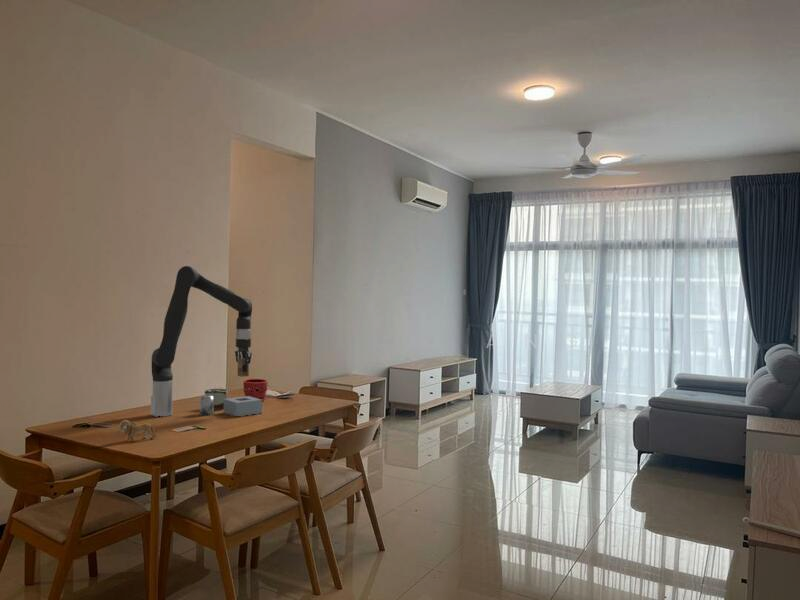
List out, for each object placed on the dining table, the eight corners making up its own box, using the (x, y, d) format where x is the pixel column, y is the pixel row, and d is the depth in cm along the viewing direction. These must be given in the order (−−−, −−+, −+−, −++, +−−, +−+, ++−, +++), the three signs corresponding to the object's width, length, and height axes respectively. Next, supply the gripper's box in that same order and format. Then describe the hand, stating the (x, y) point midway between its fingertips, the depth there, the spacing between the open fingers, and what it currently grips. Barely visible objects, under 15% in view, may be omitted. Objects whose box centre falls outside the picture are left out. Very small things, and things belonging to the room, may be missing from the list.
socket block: (236, 417, 295) (236, 402, 295) (223, 412, 305) (223, 398, 305) (261, 413, 304) (262, 399, 304) (248, 409, 314) (248, 396, 314)
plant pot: (240, 403, 331) (241, 381, 331) (246, 399, 344) (246, 378, 344) (264, 403, 332) (265, 382, 331) (269, 399, 345) (269, 378, 345)
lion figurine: (121, 444, 240) (121, 421, 240) (117, 441, 244) (117, 419, 244) (159, 438, 250) (159, 417, 250) (154, 436, 254) (154, 415, 254)
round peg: (203, 416, 297) (203, 397, 296) (197, 413, 301) (197, 396, 301) (215, 414, 301) (216, 396, 301) (210, 412, 306) (210, 394, 306)
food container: (231, 407, 319) (231, 388, 319) (226, 409, 313) (227, 390, 313) (209, 406, 320) (209, 388, 320) (204, 409, 314) (204, 389, 314)
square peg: (241, 376, 302) (241, 358, 301) (237, 375, 305) (237, 358, 304) (248, 376, 304) (248, 358, 304) (244, 375, 307) (244, 357, 307)
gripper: (230, 337, 307) (229, 370, 307) (243, 339, 296) (242, 373, 296) (243, 336, 312) (243, 369, 312) (256, 338, 301) (256, 372, 301)
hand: (243, 371), depth 304 cm, fingers closed on square peg, 4 cm apart
